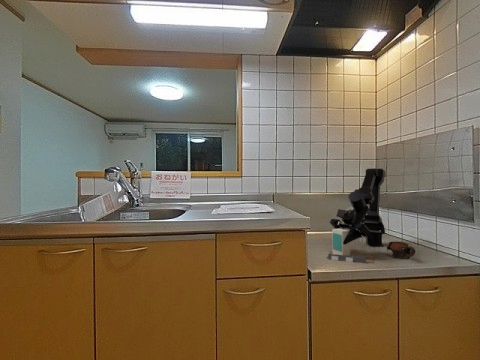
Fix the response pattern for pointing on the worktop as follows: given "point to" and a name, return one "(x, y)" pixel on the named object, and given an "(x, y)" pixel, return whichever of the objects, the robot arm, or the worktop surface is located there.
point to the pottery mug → (400, 250)
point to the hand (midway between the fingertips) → (338, 242)
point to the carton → (340, 242)
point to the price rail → (347, 258)
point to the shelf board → (368, 257)
